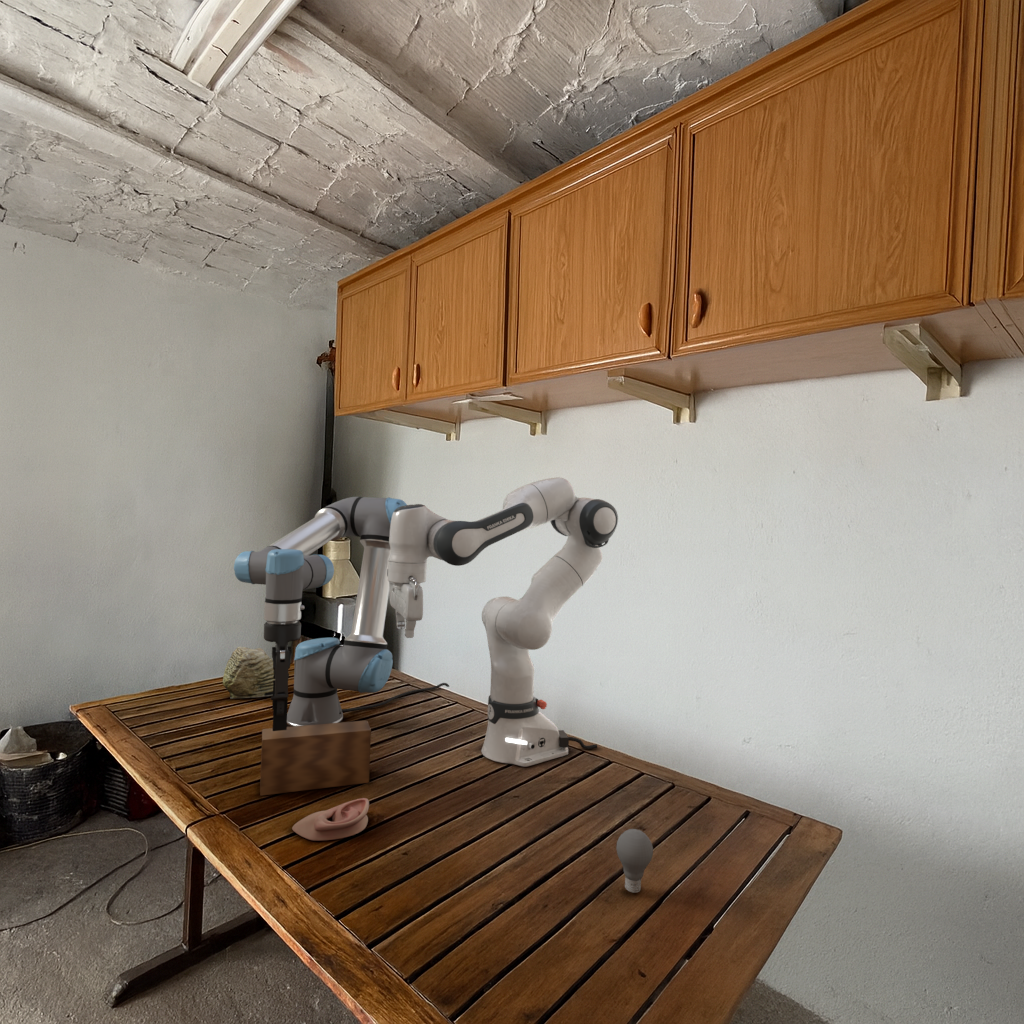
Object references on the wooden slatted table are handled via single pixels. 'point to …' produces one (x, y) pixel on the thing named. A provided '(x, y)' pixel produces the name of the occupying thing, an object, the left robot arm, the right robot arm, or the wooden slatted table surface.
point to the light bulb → (634, 857)
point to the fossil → (249, 673)
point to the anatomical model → (335, 821)
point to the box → (315, 757)
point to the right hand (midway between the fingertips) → (404, 632)
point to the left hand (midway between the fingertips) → (279, 719)
